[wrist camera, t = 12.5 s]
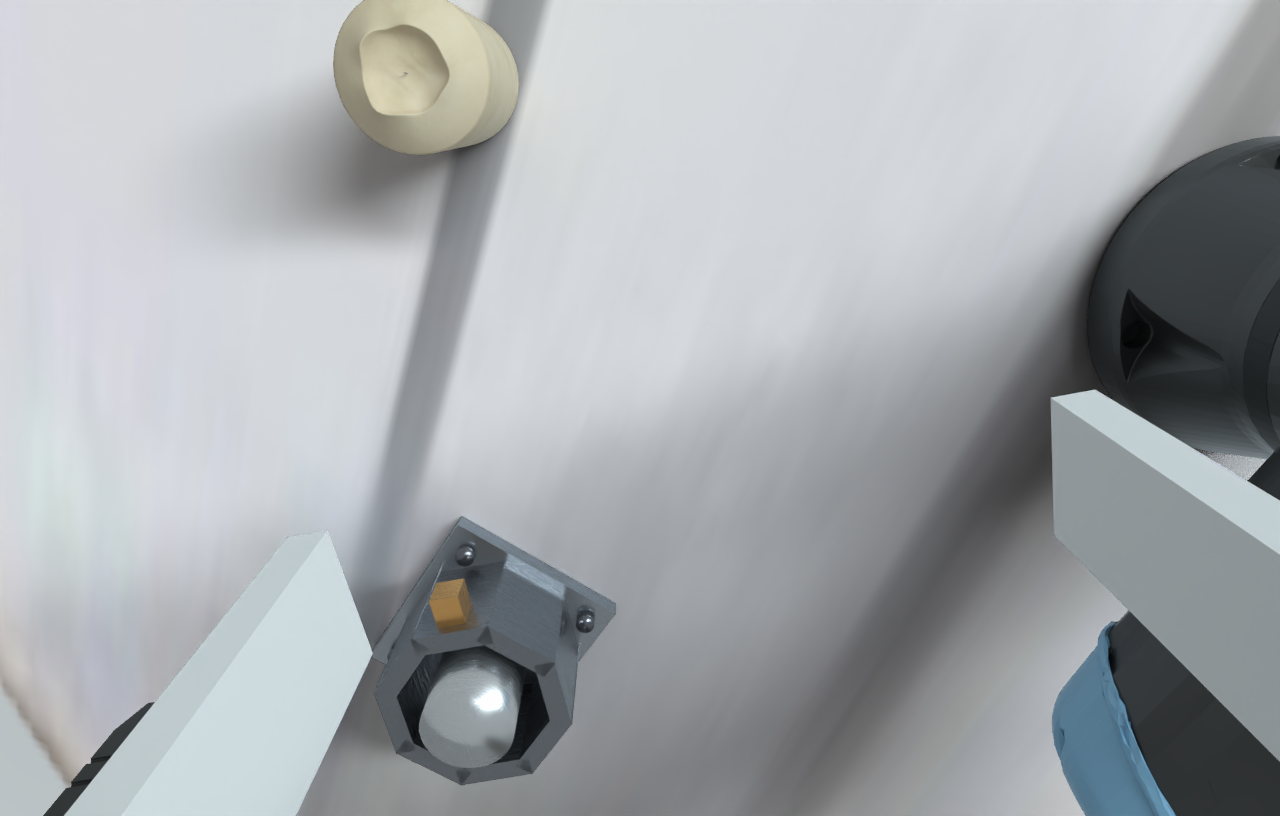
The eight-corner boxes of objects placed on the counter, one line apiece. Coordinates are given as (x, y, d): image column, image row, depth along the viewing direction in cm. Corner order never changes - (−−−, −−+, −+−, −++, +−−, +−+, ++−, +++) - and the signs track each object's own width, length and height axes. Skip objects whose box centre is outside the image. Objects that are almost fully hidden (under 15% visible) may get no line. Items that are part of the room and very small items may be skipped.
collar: (589, 687, 47) (583, 765, 42) (436, 712, 48) (411, 793, 42) (547, 527, 44) (535, 589, 38) (383, 557, 44) (347, 622, 38)
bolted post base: (615, 603, 46) (612, 706, 38) (524, 722, 49) (503, 841, 41) (461, 516, 44) (424, 605, 36) (375, 645, 47) (323, 754, 39)
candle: (466, 171, 38) (413, 191, 29) (372, 83, 37) (284, 73, 28) (545, 80, 37) (516, 70, 28) (450, -15, 36) (386, -60, 26)
